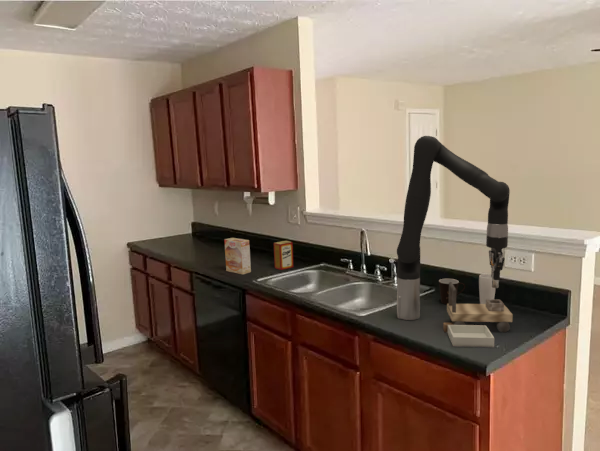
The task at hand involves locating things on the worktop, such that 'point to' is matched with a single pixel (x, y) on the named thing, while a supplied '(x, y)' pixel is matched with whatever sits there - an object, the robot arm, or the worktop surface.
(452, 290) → the trolley
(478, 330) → the tray
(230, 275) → the worktop surface
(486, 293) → the drinking glass
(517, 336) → the worktop surface
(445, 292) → the coffee mug
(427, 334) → the worktop surface
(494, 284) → the stop pin
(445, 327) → the wheel chock
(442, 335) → the worktop surface
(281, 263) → the baking soda box
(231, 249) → the coffeecake box
